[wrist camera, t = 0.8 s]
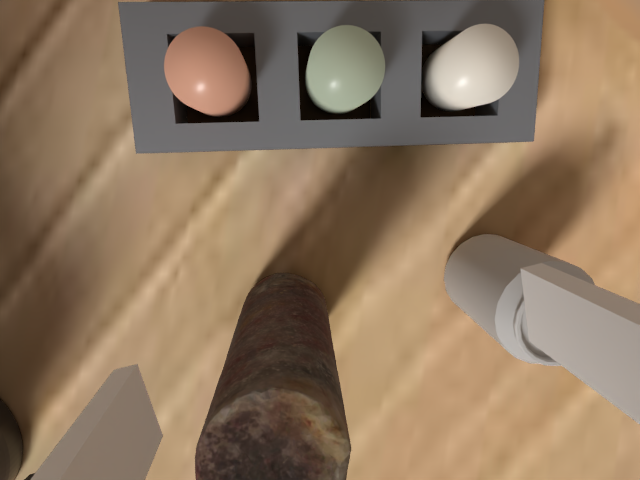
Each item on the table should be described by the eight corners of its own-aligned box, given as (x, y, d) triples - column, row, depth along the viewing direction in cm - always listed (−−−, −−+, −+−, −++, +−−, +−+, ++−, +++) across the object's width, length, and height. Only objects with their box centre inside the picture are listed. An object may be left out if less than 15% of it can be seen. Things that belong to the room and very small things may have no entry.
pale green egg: (305, 115, 32) (309, 108, 27) (303, 45, 31) (306, 25, 26) (369, 113, 33) (385, 106, 28) (369, 44, 32) (385, 24, 27)
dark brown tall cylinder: (227, 324, 38) (164, 509, 18) (263, 254, 37) (237, 370, 17) (303, 358, 39) (319, 563, 20) (339, 290, 38) (395, 437, 19)
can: (454, 223, 38) (530, 256, 26) (530, 242, 39) (636, 281, 27) (430, 300, 39) (491, 365, 27) (503, 317, 40) (594, 386, 28)
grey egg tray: (153, 153, 34) (136, 153, 30) (138, 20, 32) (118, 2, 28) (507, 142, 36) (533, 141, 33) (515, 17, 34) (544, -1, 30)
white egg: (420, 112, 33) (444, 105, 28) (421, 44, 32) (446, 24, 27) (481, 110, 33) (516, 103, 28) (484, 43, 32) (521, 23, 27)
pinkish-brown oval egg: (187, 118, 32) (168, 111, 27) (180, 47, 31) (159, 26, 26) (253, 116, 32) (247, 109, 27) (249, 46, 31) (242, 25, 26)
